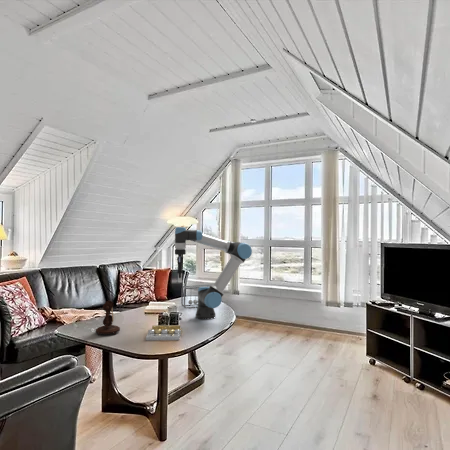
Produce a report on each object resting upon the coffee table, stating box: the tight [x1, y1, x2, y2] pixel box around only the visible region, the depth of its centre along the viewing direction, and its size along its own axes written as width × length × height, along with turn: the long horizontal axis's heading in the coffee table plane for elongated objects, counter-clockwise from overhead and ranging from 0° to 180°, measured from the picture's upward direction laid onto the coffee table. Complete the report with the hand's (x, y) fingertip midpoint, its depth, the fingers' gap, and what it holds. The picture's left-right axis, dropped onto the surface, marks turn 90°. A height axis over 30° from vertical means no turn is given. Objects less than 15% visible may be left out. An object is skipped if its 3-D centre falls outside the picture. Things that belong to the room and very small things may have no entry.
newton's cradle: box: [180, 284, 212, 309], centre depth 307 cm, size 30×10×18 cm, turn 110°
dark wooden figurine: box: [95, 300, 121, 336], centre depth 226 cm, size 15×15×20 cm
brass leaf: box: [149, 324, 183, 334], centre depth 225 cm, size 20×11×4 cm, turn 92°
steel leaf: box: [145, 329, 182, 341], centre depth 217 cm, size 20×11×4 cm, turn 92°
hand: (179, 282), depth 248 cm, fingers closed
